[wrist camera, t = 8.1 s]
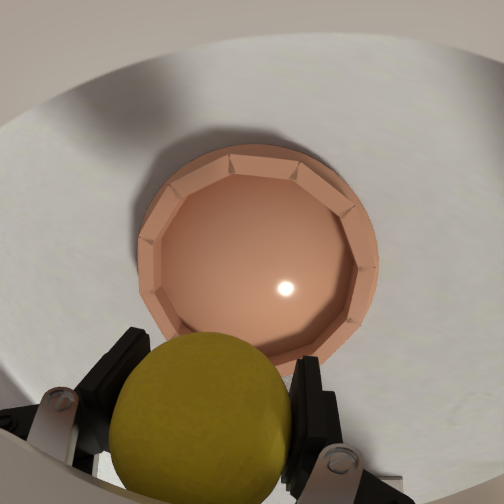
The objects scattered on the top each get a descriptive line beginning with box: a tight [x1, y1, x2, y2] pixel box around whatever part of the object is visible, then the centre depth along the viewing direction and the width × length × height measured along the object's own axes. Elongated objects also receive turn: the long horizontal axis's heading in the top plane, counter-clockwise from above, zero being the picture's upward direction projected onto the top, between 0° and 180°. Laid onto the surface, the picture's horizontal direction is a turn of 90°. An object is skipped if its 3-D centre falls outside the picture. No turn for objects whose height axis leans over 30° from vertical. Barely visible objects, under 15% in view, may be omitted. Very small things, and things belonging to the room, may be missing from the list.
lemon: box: [109, 332, 292, 504], centre depth 8 cm, size 6×6×8 cm
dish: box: [137, 144, 379, 377], centre depth 21 cm, size 18×18×2 cm
